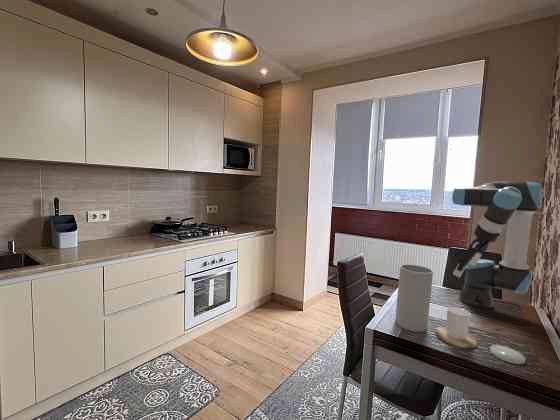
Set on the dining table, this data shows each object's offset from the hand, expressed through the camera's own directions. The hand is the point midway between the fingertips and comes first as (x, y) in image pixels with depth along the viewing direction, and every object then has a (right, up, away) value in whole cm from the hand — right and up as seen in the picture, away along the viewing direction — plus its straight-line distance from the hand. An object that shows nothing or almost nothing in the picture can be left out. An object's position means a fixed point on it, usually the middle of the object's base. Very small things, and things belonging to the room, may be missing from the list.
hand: (464, 269), depth 118 cm
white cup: (-7, -25, -6) cm, 27 cm away
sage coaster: (+5, -28, -16) cm, 32 cm away
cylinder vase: (-21, -25, +3) cm, 33 cm away
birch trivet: (-7, -26, -6) cm, 28 cm away
